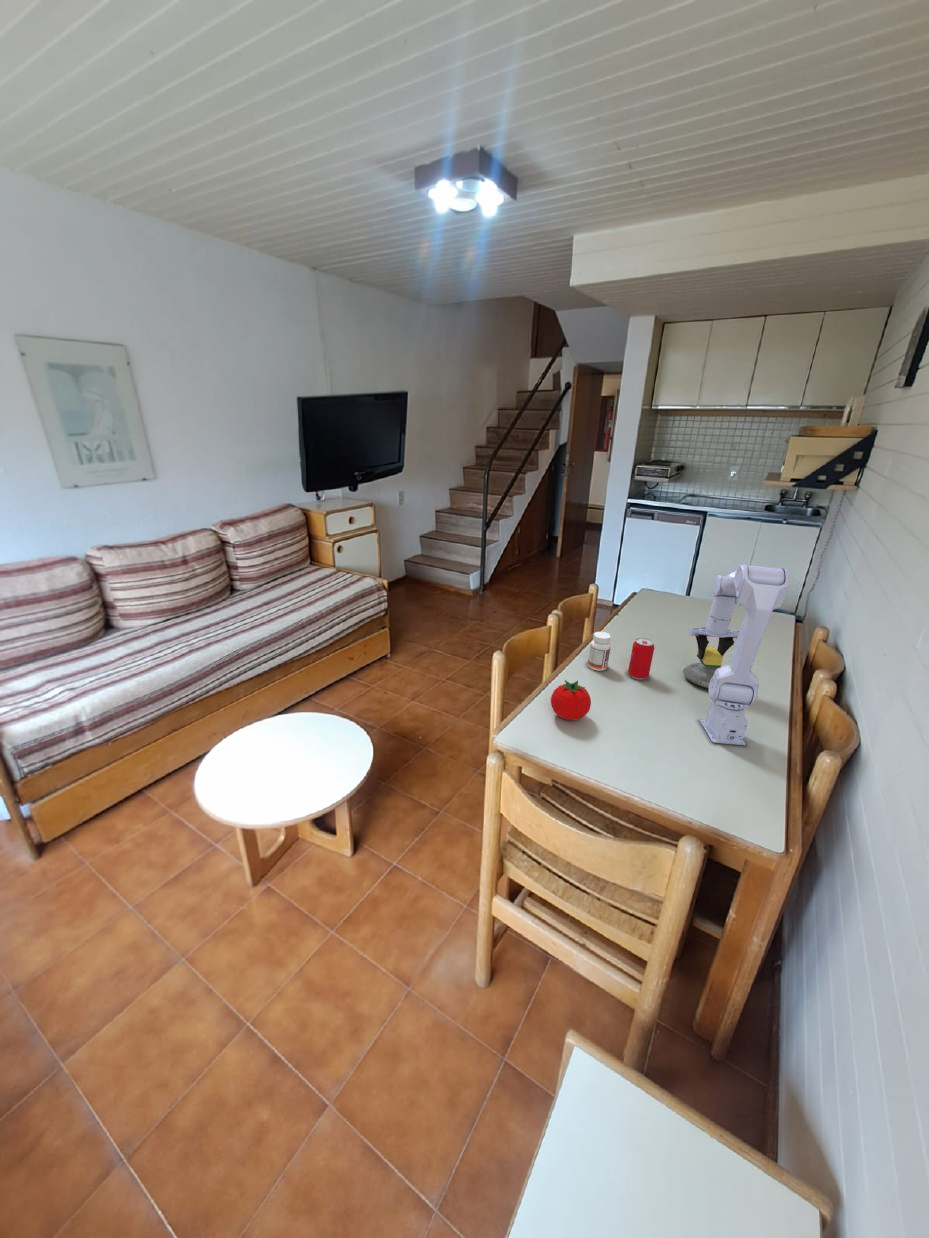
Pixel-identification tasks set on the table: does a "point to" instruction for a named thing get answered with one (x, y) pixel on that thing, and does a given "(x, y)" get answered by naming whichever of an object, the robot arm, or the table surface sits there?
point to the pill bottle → (599, 651)
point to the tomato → (571, 701)
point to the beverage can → (641, 658)
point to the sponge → (711, 658)
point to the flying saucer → (699, 674)
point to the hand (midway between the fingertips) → (709, 658)
